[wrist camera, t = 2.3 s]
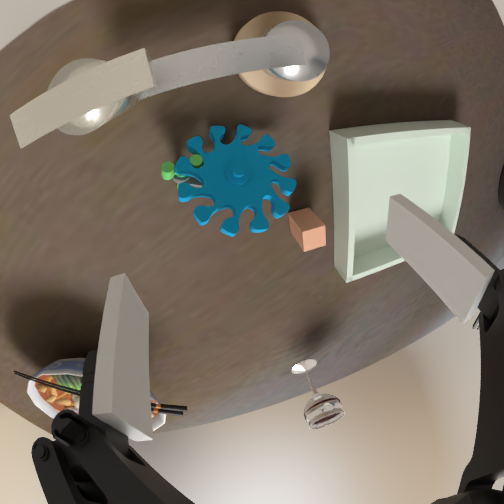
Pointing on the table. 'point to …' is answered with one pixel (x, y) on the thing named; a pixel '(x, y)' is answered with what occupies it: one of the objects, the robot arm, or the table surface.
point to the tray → (392, 185)
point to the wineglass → (319, 401)
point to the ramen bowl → (77, 391)
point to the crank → (164, 78)
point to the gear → (231, 178)
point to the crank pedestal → (260, 78)
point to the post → (307, 229)
